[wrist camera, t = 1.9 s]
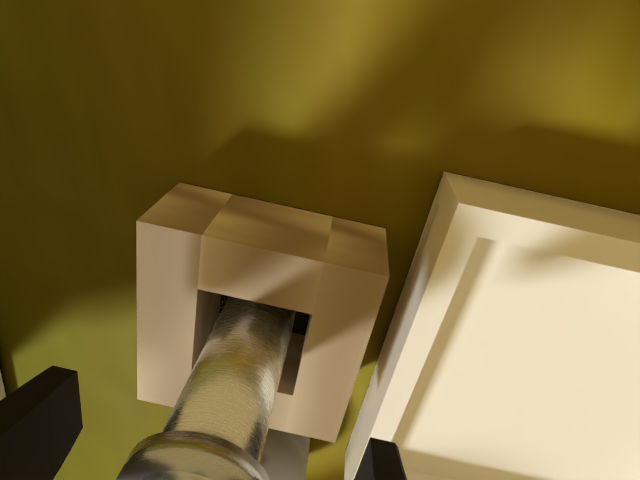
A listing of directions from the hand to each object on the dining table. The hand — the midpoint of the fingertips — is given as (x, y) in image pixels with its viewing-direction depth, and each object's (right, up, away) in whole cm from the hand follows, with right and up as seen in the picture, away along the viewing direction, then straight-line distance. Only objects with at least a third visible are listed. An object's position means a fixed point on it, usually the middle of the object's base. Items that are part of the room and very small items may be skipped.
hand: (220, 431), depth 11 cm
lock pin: (+1, +3, +5) cm, 6 cm away
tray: (+12, -1, +6) cm, 13 cm away
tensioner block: (0, 0, +7) cm, 7 cm away
